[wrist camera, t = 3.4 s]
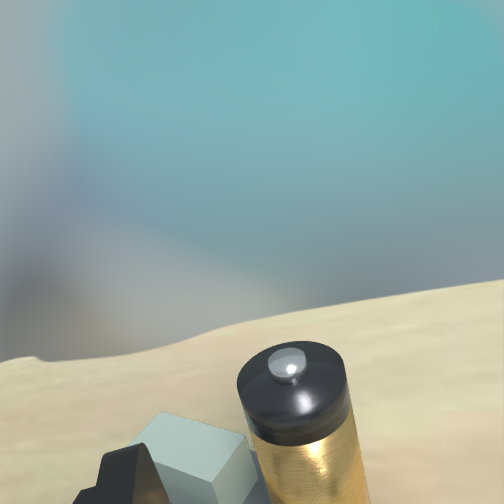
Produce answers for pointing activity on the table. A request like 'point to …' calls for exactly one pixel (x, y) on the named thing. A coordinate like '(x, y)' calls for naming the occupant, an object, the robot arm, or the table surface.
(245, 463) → the tester dock
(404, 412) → the table surface
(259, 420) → the battery cell
